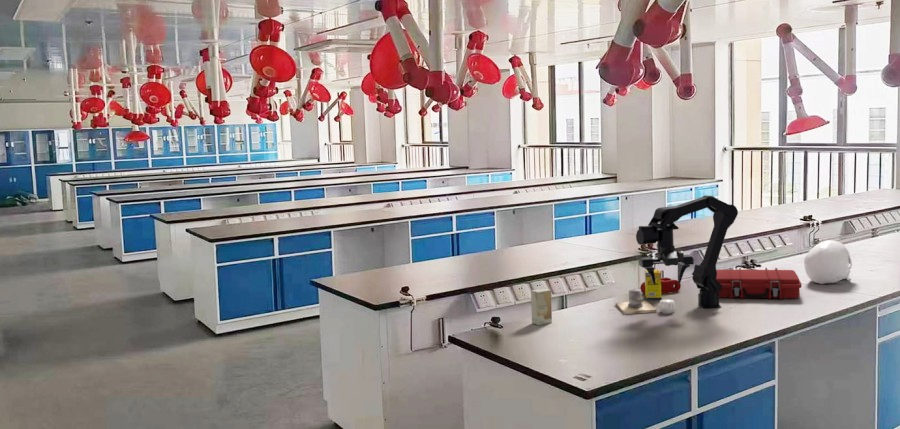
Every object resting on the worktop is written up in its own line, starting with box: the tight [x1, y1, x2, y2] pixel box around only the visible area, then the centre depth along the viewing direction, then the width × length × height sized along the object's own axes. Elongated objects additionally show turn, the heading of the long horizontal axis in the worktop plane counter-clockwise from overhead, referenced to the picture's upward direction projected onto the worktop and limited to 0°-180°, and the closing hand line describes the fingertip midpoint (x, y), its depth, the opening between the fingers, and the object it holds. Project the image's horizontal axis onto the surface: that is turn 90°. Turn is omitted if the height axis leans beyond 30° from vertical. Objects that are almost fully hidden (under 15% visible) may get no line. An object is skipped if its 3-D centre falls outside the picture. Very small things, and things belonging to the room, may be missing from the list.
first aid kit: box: [716, 267, 802, 301], centre depth 290 cm, size 32×23×9 cm
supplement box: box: [644, 269, 663, 301], centre depth 293 cm, size 6×6×11 cm
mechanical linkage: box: [639, 277, 682, 294], centre depth 303 cm, size 16×7×5 cm, turn 108°
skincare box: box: [530, 288, 553, 326], centre depth 266 cm, size 6×4×12 cm
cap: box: [659, 299, 676, 314], centre depth 271 cm, size 5×5×4 cm
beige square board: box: [615, 288, 658, 315], centre depth 278 cm, size 12×14×7 cm
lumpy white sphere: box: [803, 239, 853, 285], centre depth 302 cm, size 16×20×22 cm
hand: (666, 284), depth 270 cm, fingers open, 9 cm apart
